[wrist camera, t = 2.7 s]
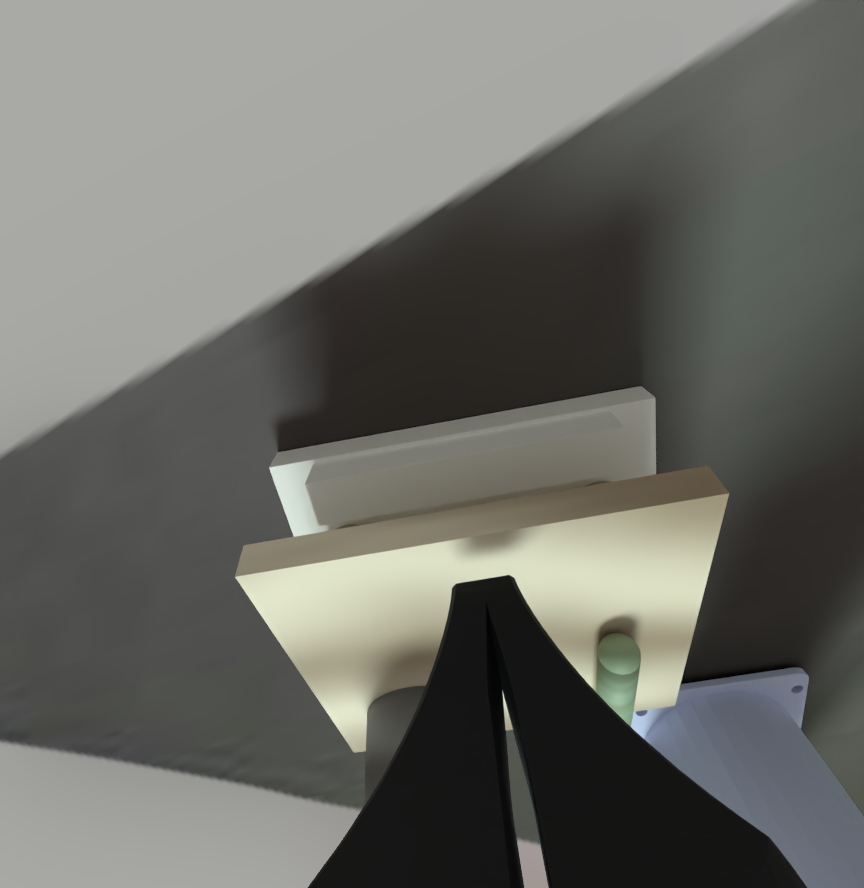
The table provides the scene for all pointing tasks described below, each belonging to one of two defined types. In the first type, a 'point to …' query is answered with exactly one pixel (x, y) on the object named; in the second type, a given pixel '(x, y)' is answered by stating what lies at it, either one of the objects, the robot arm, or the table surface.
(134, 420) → the table surface
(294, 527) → the stand
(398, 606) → the plate
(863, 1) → the table surface
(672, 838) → the robot arm
